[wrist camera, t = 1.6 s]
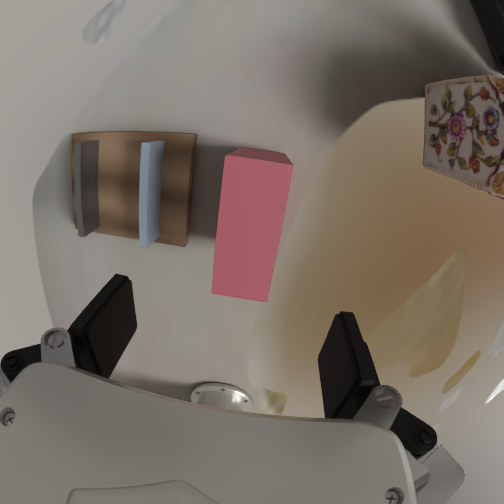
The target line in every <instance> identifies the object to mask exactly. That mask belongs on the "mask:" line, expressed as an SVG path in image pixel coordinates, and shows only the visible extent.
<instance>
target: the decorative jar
mask: <svg viewBox="0 0 504 504" xmlns="http://www.w3.org/2000/svg"><path fill="white" fill-rule="evenodd" d="M423 166H424V167H425V168H427V169H429V170H432V171H434V172H436V173H439V174H442V175H445V176H447V177H450V178H453V179H456V180H459V181H460V182H463V183H465V184H467V185H470V186H472V187H474V188H477V189H479V190H483V191H486V192H488V193H489V194H490V195H494V196H497V197H500V198H501V199H504V78H499V77H496V76H494V75H493V74H488V75H479V76H469V77H462V78H454V79H448V80H443V81H438V82H434V83H429V84H427V85H425V136H424V154H423Z"/></svg>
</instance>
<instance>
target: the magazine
mask: <svg viewBox="0 0 504 504" xmlns="http://www.w3.org/2000/svg"><path fill="white" fill-rule="evenodd" d="M470 2H471V4H472V6H473V8H474V11H475V13H476V15H477V17H478V19H479V21H480V24H481V26H482V28H483V30H484V32H485V34H486V37H487V39H488V41H489V43H490V46H491V48H492V50H493V53H494V55H495V58H496V60H497V63H498V66H499V69H500V73H501V74H503V75H504V0H470Z"/></svg>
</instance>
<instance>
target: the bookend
mask: <svg viewBox="0 0 504 504" xmlns="http://www.w3.org/2000/svg"><path fill="white" fill-rule="evenodd" d="M98 160H99V140H92V141H85V142H79V143H75V199H76V214H77V225H78V235H79V236H80V237H85V236H87V235H88V234H90V233H91V232H92V231H94V230H95V229H97V228H98V227H100V219H99V196H98Z"/></svg>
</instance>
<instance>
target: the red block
mask: <svg viewBox="0 0 504 504" xmlns="http://www.w3.org/2000/svg"><path fill="white" fill-rule="evenodd" d="M292 170H293V164H292V163H291V161H290V160H289V158H288V157H287V155H286V154H284V153H278V152H272V151H266V150H259V149H252V148H245V147H242V148H239V149H237V150H235V151H233V152H231V153H229V154H227V155H225V162H224V170H223V178H222V187H221V195H220V205H219V214H218V224H217V234H216V244H215V255H214V267H213V279H212V292H211V293H212V294H218V295H224V296H230V297H236V298H242V299H249V300H255V301H262V302H267V299H268V294H269V290H270V285H271V280H272V275H273V270H274V265H275V260H276V255H277V250H278V245H279V240H280V235H281V230H282V224H283V219H284V214H285V209H286V203H287V198H288V192H289V187H290V181H291V176H292Z"/></svg>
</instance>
